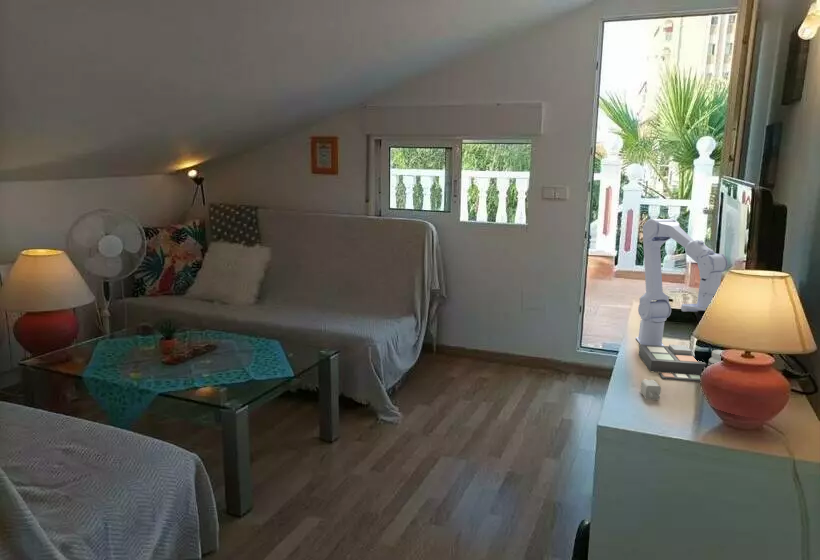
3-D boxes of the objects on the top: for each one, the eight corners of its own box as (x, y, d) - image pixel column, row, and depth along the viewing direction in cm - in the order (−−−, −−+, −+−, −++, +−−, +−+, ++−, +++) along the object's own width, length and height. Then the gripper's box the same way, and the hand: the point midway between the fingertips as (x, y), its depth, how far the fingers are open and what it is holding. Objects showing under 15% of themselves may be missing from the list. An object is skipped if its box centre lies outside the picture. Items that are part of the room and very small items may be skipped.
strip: (662, 379, 183) (662, 376, 183) (658, 374, 187) (659, 371, 187) (704, 382, 182) (705, 379, 182) (700, 377, 186) (700, 374, 186)
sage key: (650, 362, 196) (652, 353, 195) (668, 363, 195) (669, 354, 195) (655, 368, 191) (656, 358, 190) (673, 369, 190) (674, 360, 190)
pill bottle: (722, 381, 183) (727, 349, 181) (730, 388, 178) (735, 356, 175) (702, 380, 184) (707, 348, 182) (709, 387, 178) (714, 354, 176)
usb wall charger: (654, 393, 172) (656, 380, 172) (662, 403, 166) (664, 389, 165) (640, 392, 173) (641, 379, 172) (647, 403, 166) (649, 389, 165)
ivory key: (645, 355, 203) (646, 346, 202) (662, 356, 202) (663, 347, 202) (649, 360, 198) (650, 351, 197) (667, 361, 197) (668, 352, 196)
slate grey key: (668, 353, 202) (669, 344, 201) (685, 354, 201) (686, 345, 201) (672, 358, 197) (673, 349, 196) (690, 359, 196) (691, 350, 195)
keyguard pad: (638, 354, 205) (639, 344, 204) (688, 358, 203) (690, 347, 202) (650, 371, 190) (651, 360, 189) (704, 375, 188) (706, 364, 187)
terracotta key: (673, 363, 195) (674, 354, 195) (691, 365, 195) (692, 356, 194) (678, 369, 190) (680, 360, 189) (697, 371, 189) (698, 361, 189)
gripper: (688, 294, 188) (682, 336, 191) (738, 296, 186) (731, 339, 189) (681, 288, 195) (676, 330, 198) (729, 291, 193) (723, 333, 196)
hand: (702, 334), depth 194 cm, fingers closed
